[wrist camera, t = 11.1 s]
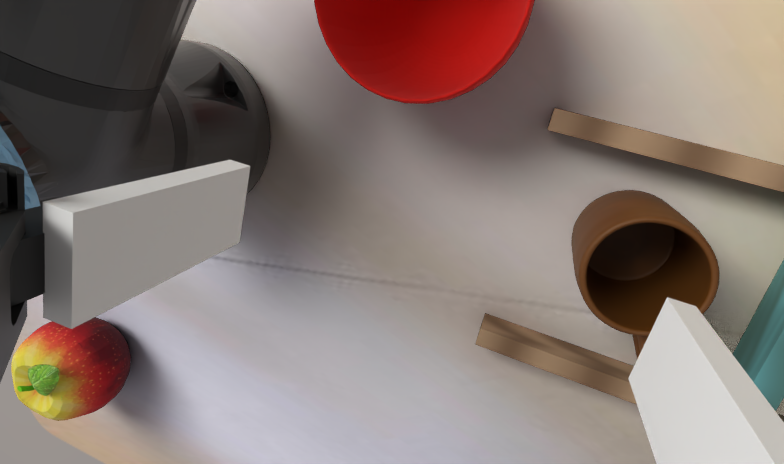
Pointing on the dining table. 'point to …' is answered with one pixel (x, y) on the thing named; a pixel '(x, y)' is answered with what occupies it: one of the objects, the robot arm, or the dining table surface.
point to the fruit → (70, 368)
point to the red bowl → (422, 43)
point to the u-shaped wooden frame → (754, 353)
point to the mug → (640, 261)
